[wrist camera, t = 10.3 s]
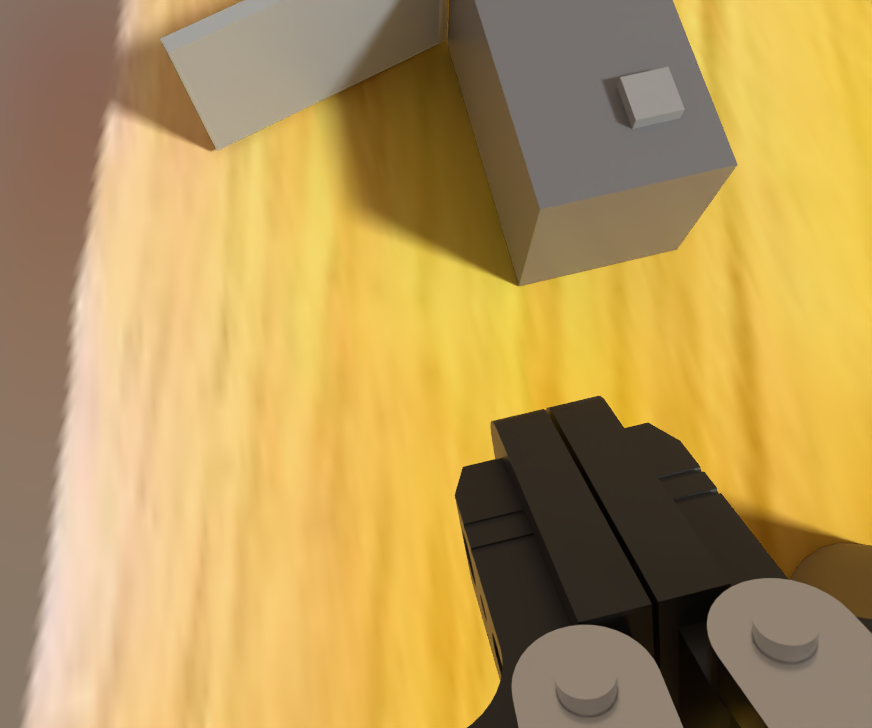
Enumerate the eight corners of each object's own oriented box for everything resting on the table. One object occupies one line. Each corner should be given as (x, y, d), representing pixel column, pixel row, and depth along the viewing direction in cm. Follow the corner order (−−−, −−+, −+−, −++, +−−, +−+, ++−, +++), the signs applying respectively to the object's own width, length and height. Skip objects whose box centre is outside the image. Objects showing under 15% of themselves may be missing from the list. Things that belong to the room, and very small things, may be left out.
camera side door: (450, 39, 41) (453, -78, 34) (217, 151, 39) (168, 54, 32) (435, 17, 41) (435, -103, 34) (204, 128, 40) (153, 26, 32)
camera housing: (586, -3, 42) (622, -147, 34) (676, 249, 38) (743, 156, 30) (442, 27, 42) (443, -111, 34) (519, 286, 38) (542, 202, 29)
